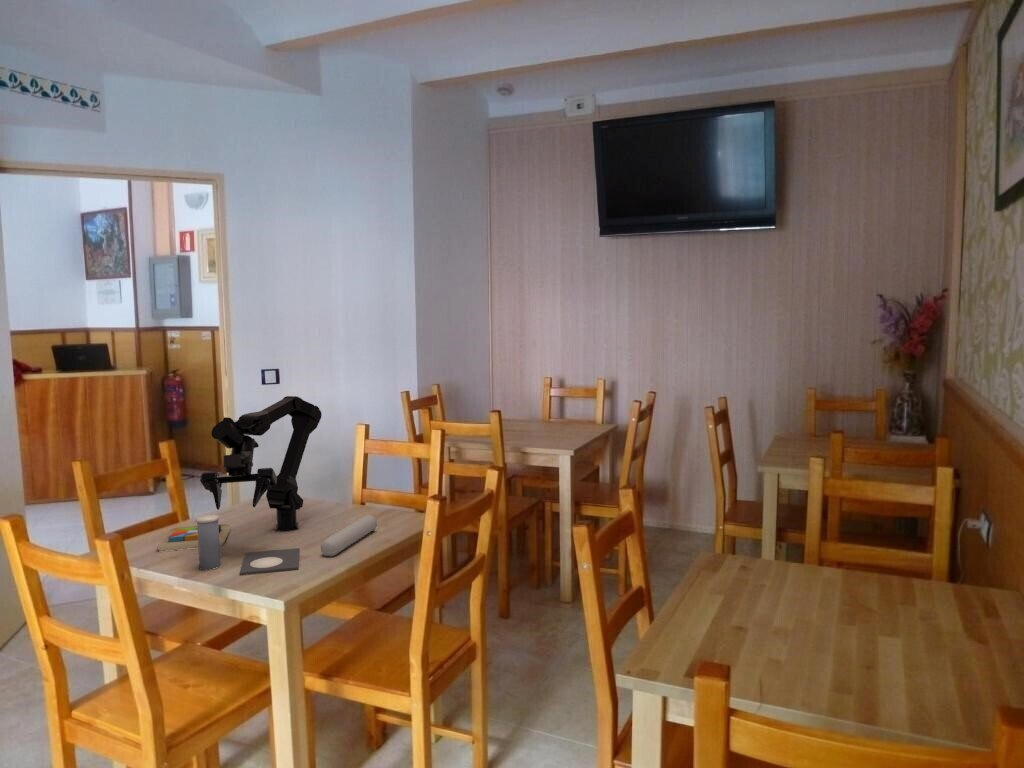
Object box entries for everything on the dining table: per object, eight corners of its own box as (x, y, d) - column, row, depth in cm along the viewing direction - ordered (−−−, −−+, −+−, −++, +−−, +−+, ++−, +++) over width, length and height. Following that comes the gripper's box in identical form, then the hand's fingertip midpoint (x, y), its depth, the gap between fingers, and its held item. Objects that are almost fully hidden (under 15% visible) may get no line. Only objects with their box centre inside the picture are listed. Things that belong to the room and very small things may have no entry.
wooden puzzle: (231, 529, 226) (231, 518, 225) (224, 548, 207) (224, 536, 207) (169, 534, 221) (168, 523, 221) (156, 554, 203) (156, 541, 203)
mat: (245, 555, 200) (245, 552, 200) (299, 550, 203) (299, 547, 203) (239, 575, 184) (239, 572, 184) (298, 569, 188) (298, 566, 188)
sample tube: (200, 564, 193) (197, 515, 192) (222, 562, 194) (220, 513, 193) (197, 571, 188) (194, 520, 186) (220, 569, 189) (217, 519, 188)
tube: (336, 545, 196) (379, 518, 219) (319, 537, 197) (363, 511, 221) (331, 563, 197) (374, 534, 220) (314, 555, 198) (359, 527, 222)
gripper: (198, 443, 196) (189, 496, 188) (270, 438, 198) (265, 491, 189) (210, 463, 206) (202, 515, 197) (279, 459, 207) (274, 510, 199)
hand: (235, 507), depth 195 cm, fingers open, 9 cm apart
